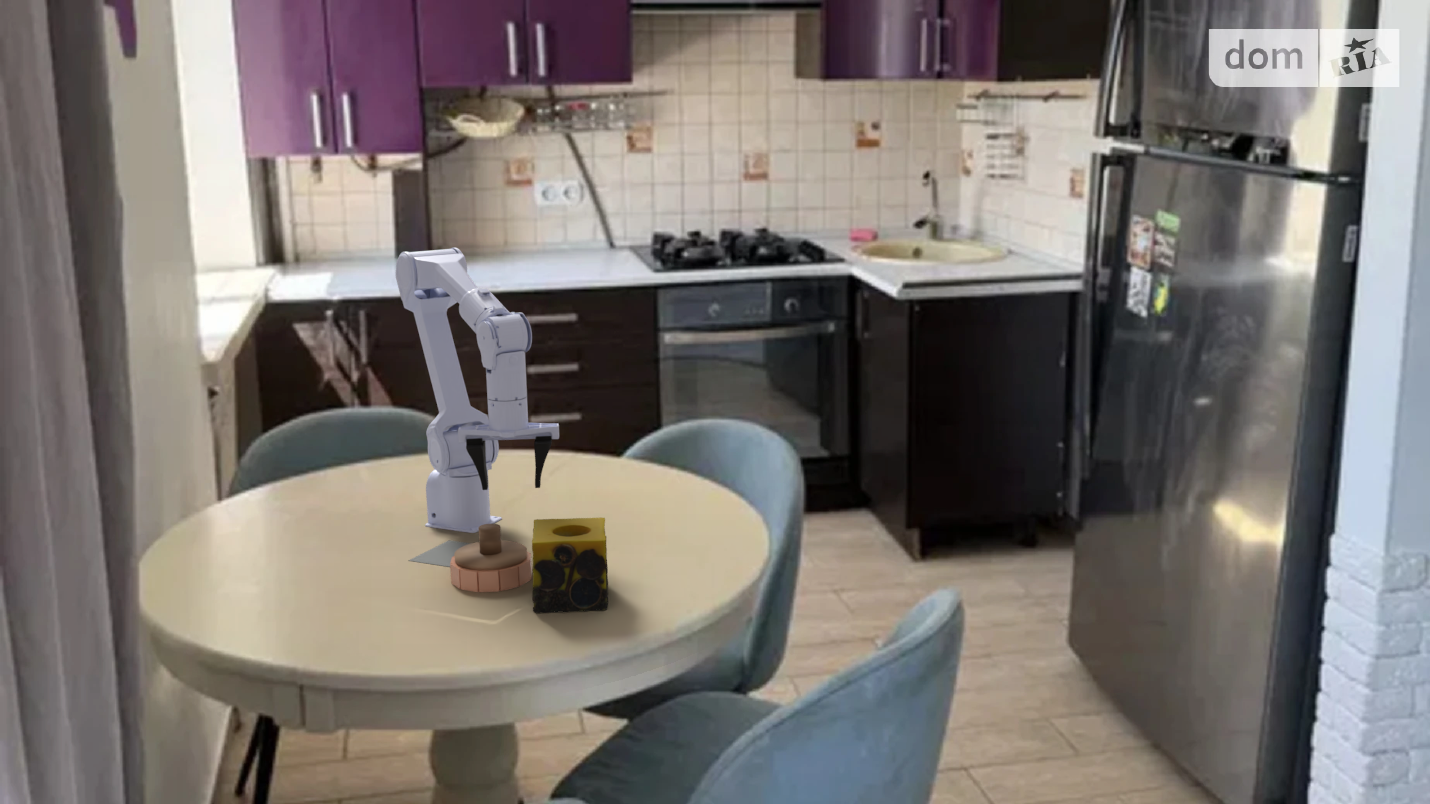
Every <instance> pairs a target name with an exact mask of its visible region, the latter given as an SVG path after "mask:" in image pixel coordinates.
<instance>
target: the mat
mask: <svg viewBox="0 0 1430 804" xmlns="http://www.w3.org/2000/svg"><path fill="white" fill-rule="evenodd" d="M472 543H473V542H470V543H469V542H463V541H457V540H452V539H451V540H450V539H449V540H447V541H444V542H442V543H441V544H438V545H436V546H435V547H433V548H430V549H428V550H427V551H425V552H422V553H420V554H419V555H416V556H415V557H412V558H410V559H409V560H408V562H415V563H418V564H419V563H421V564H428V565H432V566H434V565H435V566H440V567H445V568H446V567H447V568H450V562H451V559H452V557H453V556H455V555H454V554H455V552H456V550H457V549H459V548H461V547H463V546H465V545H468V544H472Z"/></svg>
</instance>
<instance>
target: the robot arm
mask: <svg viewBox="0 0 1430 804" xmlns="http://www.w3.org/2000/svg"><path fill="white" fill-rule="evenodd" d="M395 279H396V283H397V288H398V291H399V295H400V300H401V301H402V304H403V308H404V309H405V310H408V311H410V312H412V313H413V317H414V320H415V324H416V327H417V331H418V334H419V339H420V343H421V347H422V350H423V354H424V355H423V356H424V359H425V363H426V366H427V370H428V374H429V378H430V382H431V385H432V390H433V394H434V398H435V402H436V404H437V405H436V406H437V409H438V414H437V415H436V417H435V418H434V419H433V420H432V421H431V422H430V423H429V424H428V427H427V429H426V432H425V433H426V439H427V454H428V459H429V462H430V464H431V467H432V468H433V470H432V471H431V472H430V473H429V475H428V477H427V480H426V484H425V495H426V496H425V497H426V498H425V499H426V508H427V509H426V511H427V512H426V513H427V514H426V515H427V522H426V523H425V525H424V526H425V527H427V528H433V529H434V528H435V529H443V530H447V531H448V530H449V531H455V532H461V533H462V532H463V533H470V534H474V533H477V532H478V533H479V526H481V525H484V524H497V523H498V522H500V521H502V520H503V518H502V517H501V516H496V515H491V504H490V487H489V486H490V485H489V484H490V483H489V470H492V469H493V468H492V467H493V466H492V465H493V464H494V463H495V462H496V461H497V458H498V456H499V451H500V449H499V448H500V446H499V441H505V440H506V441H509V440H511V441H512V440H534V443H533V447H534V462H535V463H534V464H535V473H534V474H535V475H534V488H535V489H540V488H541V485H542V484H541V483H542V482H541V480H542V473H543V469H544V465H545V462H546V459H547V457H548V454H549V452H550V449H551V447H552V440H559V439H560V425H559V422H558V423H555V422H553V423H550V422H549V423H546V422H529V413H528V411H529V410H528V409H529V408H528V388H527V367H526V366H527V365H526V363H527V362H526V353H527V352H528V351H530V349H531V347H532V343H533V332H532V326H531V324H530V322H529V319H528V318H527V317H526V315H525V314H524V313H523V312H515V311H511V312H510V311H509V310H508V309H507V308H506V307H505V306H504V305H503V303H502V302H501V301H499V299H498V298H497V297H496V296H495V295H494V294H493V293H492V292H491V291H490V290H489V288H487V287H478V286H477V285H476V283H475V282H474V281H473V279H472V278H471V277H470V275H469V274H468V263H467V260H466V256H465V254H463V252H462V251H461V249H459V248H458V247H451V248H445V249H443V248H442V249H434V250H433V249H432V250H420V251H402V252H401V253H400V254H399V256H398V258H397V260H396V264H395ZM457 303H458V304H459V306H458V312H459V315H460V317H461V318H462V320H464V323H466V324H467V326H469V328H471V330H472V331H473V332H474V333H475V334H476V341H477V346H478V349H479V351H480V355H481V363H482V367H483V368H485V374H486V375H485V377H486V378H485V379H486V393H487V394H486V395H487V413H488V414H486V413H484V412H482V411H481V410H478V409H477V408H475V407H473V406H471V402H470V399H469V395H468V392H467V387H466V383H465V380H464V376H463V372H462V368H461V365H460V360H459V357H458V354H457V349H456V346H455V343H454V339H453V334H452V330H451V325H450V322H449V318H448V315H447V312H448V309H449V308H451V307H453V306H454V305H455V304H457Z"/></svg>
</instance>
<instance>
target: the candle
mask: <svg viewBox="0 0 1430 804" xmlns="http://www.w3.org/2000/svg"><path fill="white" fill-rule="evenodd" d="M605 523H606V518H605V517H581V518H580V517H578V518H577V517H576V518H572V517H571V518H545V519H544V518H543V519H540V518H539V519H538V518H537V519H533V529H532V533H533V534H532V540H531V550H532V551H531V552H532V578H533V579H532V595H531V598H532V603H533V607H532V612H533V613H536V614H544V613H547V614H549V613H550V614H551V613H576V612H587V611H589V612H590V611H606V610H607V609H608V606H609V590H608V589H609V587H608V586H609V578H608V574H609V573H608V569H609V568H608V567H609V566H608V560H607V559H608V556H607V554H608V553H607V551H608V549H607V535H606V528H605Z"/></svg>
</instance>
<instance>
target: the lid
mask: <svg viewBox="0 0 1430 804" xmlns="http://www.w3.org/2000/svg"><path fill="white" fill-rule="evenodd" d="M501 531H502V530H501V525H500V524H497V523H494V524H484V525H481V526H479V531H478V540H479V541H476V542H471V543H472V544H468V545H465V546H463V547H461V548H459V549H457V550H456V552H455V554H454V555H455V563H456V564H457V565H458V566H460V567H462V568H465V569H470V570H481V571H487V570H499V569H505V568H509V567H513V566H516V565H518V564H521V563H522V562H524V561H525V560H526V559H527V551H528V549H527V546H525V544H522V543H520V542H517V541H511V540H503V539H502V533H501Z"/></svg>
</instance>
